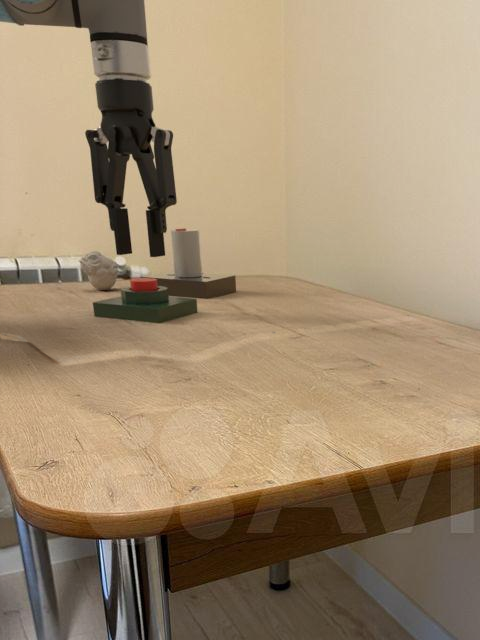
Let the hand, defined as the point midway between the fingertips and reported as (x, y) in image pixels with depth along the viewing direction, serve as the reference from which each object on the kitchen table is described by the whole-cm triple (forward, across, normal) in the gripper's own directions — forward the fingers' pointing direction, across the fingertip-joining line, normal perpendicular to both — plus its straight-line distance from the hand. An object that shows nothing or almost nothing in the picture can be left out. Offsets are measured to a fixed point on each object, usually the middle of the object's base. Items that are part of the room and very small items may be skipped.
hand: (141, 254), depth 107 cm
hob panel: (+9, -7, +22) cm, 25 cm away
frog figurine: (+9, -23, +17) cm, 30 cm away
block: (+9, 0, 0) cm, 9 cm away
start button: (+5, 0, 0) cm, 5 cm away
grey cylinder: (+6, -7, +22) cm, 24 cm away
